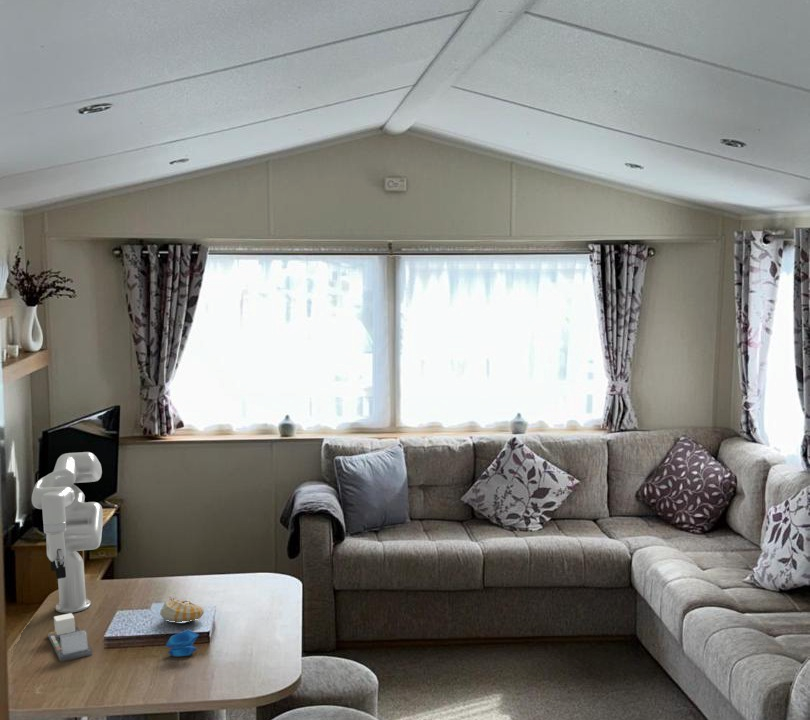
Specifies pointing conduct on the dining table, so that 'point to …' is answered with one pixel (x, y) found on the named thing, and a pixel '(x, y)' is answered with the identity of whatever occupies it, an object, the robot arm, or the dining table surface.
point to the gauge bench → (68, 657)
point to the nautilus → (180, 611)
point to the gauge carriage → (64, 624)
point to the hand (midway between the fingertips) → (58, 574)
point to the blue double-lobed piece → (182, 643)
